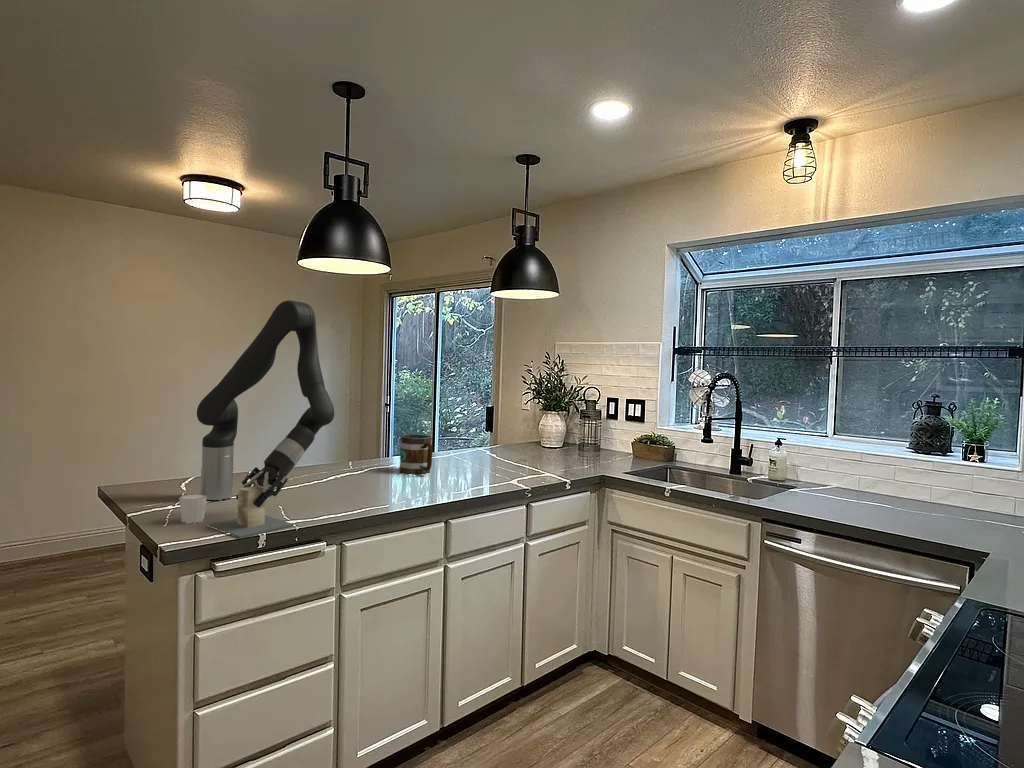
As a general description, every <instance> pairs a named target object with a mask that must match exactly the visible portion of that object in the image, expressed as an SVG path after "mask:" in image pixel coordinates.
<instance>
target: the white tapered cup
mask: <svg viewBox="0 0 1024 768" xmlns="http://www.w3.org/2000/svg"><path fill="white" fill-rule="evenodd" d="M206 498H207V496H206V495H203V494H201V493H199V494H198V493H195V494H193V493H192V494H185V495H181V496H179V498H178V500H179V509H180V510H179V511H180V522H181V521H182V522H197V521H201V520H203V519H204V520H205V514H206V506H207V505H206V504H207V500H206ZM182 522H181V523H182Z"/></svg>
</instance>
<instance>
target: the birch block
mask: <svg viewBox="0 0 1024 768" xmlns="http://www.w3.org/2000/svg"><path fill="white" fill-rule="evenodd" d="M263 489H264V487H262V486H261V487H258V486H253V485H252V486H251V487H245V488H244V487H239V488H238V491H237V492H238V494H237V495H238V500H237V518H238V524H239V525H242V526H244V527H247V528H249V527H253V526H258V525H262V524H264V522H265V515H266V511H265V510H266V501H265V502H264V503H263V504H262V505H261V506H260V507H259V508H258V507H256V506H255V505H254V504H253V502H254V501H255V499H256V498H257V497H258V496H259V495H260V493H261V492H263Z"/></svg>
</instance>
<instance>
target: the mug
mask: <svg viewBox="0 0 1024 768" xmlns="http://www.w3.org/2000/svg"><path fill="white" fill-rule="evenodd" d="M399 449H400V451H399V456H400V457H399V460H400V461H399V469H398V470H399V471H400V472H399V471H398V472H399V474H402V473H404V475H408V474H413V475H412V476H420V475H419V474H424V475H427V474H426V473H428V474H430V473H431V468H432V462H433V452H434V451H433V450H434V449H433V445H432V436H431V435H426V434H418V433H417V434H409V433H408V434H402V435H400V448H399ZM414 474H415V475H414ZM417 474H418V475H417Z"/></svg>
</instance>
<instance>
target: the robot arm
mask: <svg viewBox="0 0 1024 768" xmlns="http://www.w3.org/2000/svg"><path fill="white" fill-rule="evenodd" d="M291 332H295V334H296V337H297V339H298V343H299V345H298V346H299V353H298V359H297V360H298V361H297V368H296V370H297V371H296V372H297V378H298V382H299V387H300V391H301V394H302V396H303V397H305V398H307V400H308V403H309V407H308V408H307V409H306V410H305V411H304V412H303V413H302V414H301V416H300V418H299V420H298V421H297V423H296V424H295V426H294V427H293V428H292V429H291V430H290V431H289V433H288V434H287V435H286V436H285V437H284V438H283V440H281V441H280V442H279V443H278V444H277V445H276V446H275V448H274V449H273V450H272V451H271V452H270V453H269V455H268V456H267V457H266V458H265V460H263V464H264V467H262V468H261V469H259V467H257V466H255V467H254V468H253V469H252V470H251V471H250V472H249V473H248V475H247V476H246V477H245V478H244V479H243V480H242V481H241V484H242V485H243V488H245V487H251V486H258V487H261V488H264V489H263V492H261V493H260V495H259V496H258V497H257V498H256V499H255V501H254V502H253V504H254V505H255V506H256V507H258V508H259V507H260V506H261V505H262V504H263V503H264V502H265V503H266V500H267V499H268V498H271V497H272V496H273V497H277V495H278V494H279V493H280V491H281V490H282V488H283V487H284V486H285V485H286V483H288V478H287V476H288V475H289V474H290V473H291V471H292V470H293V469H294V467H295V466H296V465H297V464H298V462H299V461H300V460H301V458H302V457H303V455H304V454H305V452H306V451H307V450H308V449H309V448H310V446H311V445H312V443H313V442H314V441H315V436H316V435H317V433H318V432H319V431H320V429H322V428H323V427H324V426H327V425H329V424H331V422H333V420H334V418H335V408H334V404H333V402H332V400H331V397H330V395H329V393H328V390H327V389H326V387H325V379H324V377H323V372H322V368H321V364H320V357H319V347H318V337H317V334H318V333H317V323H316V315H315V311H314V309H313V307H312V306H311V305H310V304H308V303H306V302H302V301H296V300H291V299H290V300H284V301H282V302H280V303H279V304H278V305H277V306H276V307H275V309H274V310H273V311H272V313H271V315H270V316H269V318H268V320H267V321H266V322H265V324H264V326H263V327H262V329H261V330H260V331H259V333H258V334H257V335H256V337H255V338H254V339H253V340H252V342H251V343H249V346H248V347H247V348H246V349H245V350H244V351H243V352H242V354H241V355H240V357H239V358H238V359H237V360H236V362H235V363H234V364H233V366H232V367H231V368H230V369H229V371H227V373H226V374H225V375H224V376H223V378H222V379H221V380H220V381H219V383H218V384H217V385H215V387H213V388H212V390H211V391H210V392H208V393H207V395H205V396H204V398H203V399H201V401H200V402H199V404H198V406H197V409H196V417H197V420H198V421H199V422H200V424H201V425H204V426H208V427H209V426H212V429H211V430H210V431H209V433H207V434H206V435H205V436H203V437H202V449H201V450H202V451H201V453H202V454H201V468H200V494H203V495H206V496H207V498H206V501H207V500H219V501H223V500H222V499H226V500H228V499H227V498H230V499H231V497H232V496H233V487H234V451H235V450H234V449H235V445H234V444H235V439H236V437H237V433H238V423H239V407H238V404H237V402H236V400H235V399H236V398H238V397H239V396H240V395H242V394H243V393H244V392H247V391H248V390H250V389H251V388H252V387H254V386H255V385H257V384H258V383H259V382H261V380H262V379H264V378H265V376H266V375H267V373H269V371H270V370H271V369H272V367H273V365H274V363H275V360H276V355H277V349H278V347H279V345H280V343H281V342H282V341H283V340H284V338H285V337H286V336H288V334H289V333H291ZM232 498H233V497H232ZM235 498H236V500H237V501H238V494H236V496H235Z"/></svg>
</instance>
